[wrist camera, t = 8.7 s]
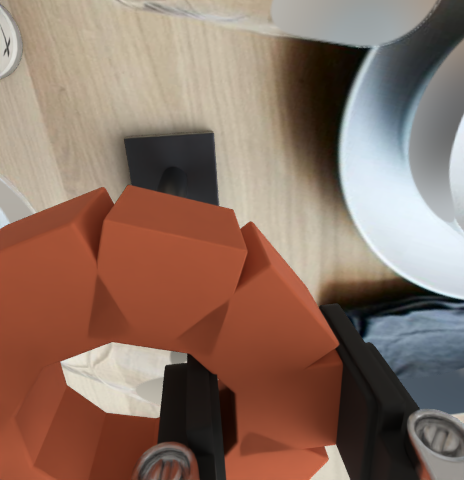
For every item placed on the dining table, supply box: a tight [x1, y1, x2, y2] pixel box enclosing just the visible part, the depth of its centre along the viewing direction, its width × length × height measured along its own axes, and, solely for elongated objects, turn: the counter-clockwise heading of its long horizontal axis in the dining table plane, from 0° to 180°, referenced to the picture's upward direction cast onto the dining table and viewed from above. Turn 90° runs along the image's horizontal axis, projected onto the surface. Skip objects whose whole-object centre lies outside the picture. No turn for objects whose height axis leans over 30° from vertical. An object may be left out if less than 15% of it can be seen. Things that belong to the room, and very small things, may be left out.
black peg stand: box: [124, 131, 219, 206], centre depth 30 cm, size 8×8×12 cm
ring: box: [0, 185, 343, 480], centre depth 10 cm, size 11×11×3 cm
